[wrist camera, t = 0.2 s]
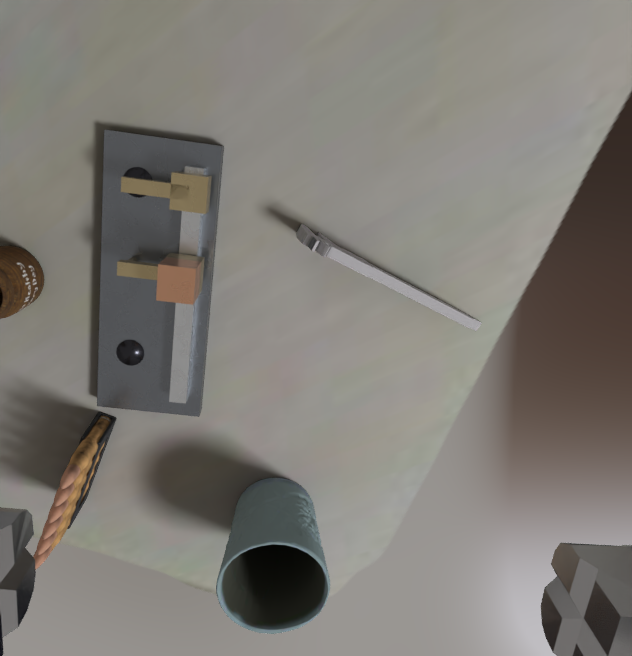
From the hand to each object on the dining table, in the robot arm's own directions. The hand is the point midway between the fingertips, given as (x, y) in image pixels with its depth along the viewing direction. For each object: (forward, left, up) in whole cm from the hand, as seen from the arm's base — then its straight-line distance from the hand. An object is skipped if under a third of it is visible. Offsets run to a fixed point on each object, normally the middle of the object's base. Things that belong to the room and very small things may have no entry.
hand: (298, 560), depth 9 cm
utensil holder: (+9, -25, -47) cm, 54 cm away
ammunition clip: (+28, -18, -48) cm, 58 cm away
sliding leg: (+6, -11, -45) cm, 47 cm away
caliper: (+5, +10, -48) cm, 49 cm away
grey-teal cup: (+32, +2, -47) cm, 57 cm away
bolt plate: (+8, -12, -47) cm, 49 cm away
